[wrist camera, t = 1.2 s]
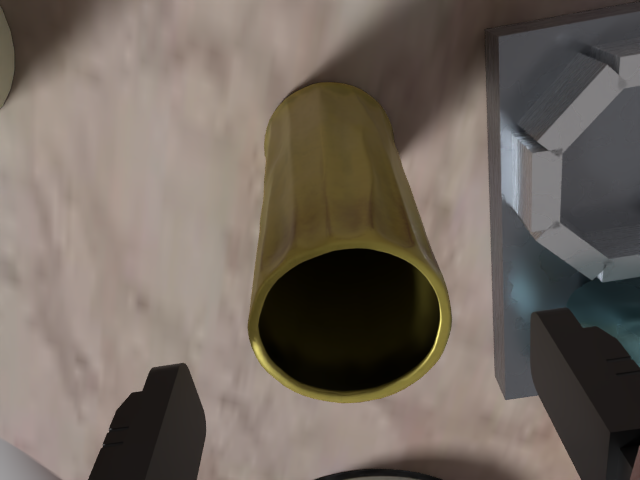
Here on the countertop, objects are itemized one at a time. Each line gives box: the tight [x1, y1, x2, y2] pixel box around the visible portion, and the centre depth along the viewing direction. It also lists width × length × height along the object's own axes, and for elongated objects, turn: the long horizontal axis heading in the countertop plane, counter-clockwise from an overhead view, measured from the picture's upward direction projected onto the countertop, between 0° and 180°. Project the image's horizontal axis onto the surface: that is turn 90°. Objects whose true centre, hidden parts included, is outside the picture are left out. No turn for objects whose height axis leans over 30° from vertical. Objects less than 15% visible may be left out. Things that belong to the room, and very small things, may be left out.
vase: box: [248, 82, 452, 403], centre depth 21 cm, size 6×6×14 cm
